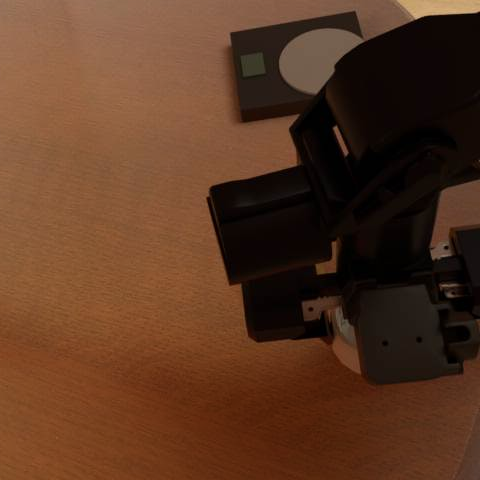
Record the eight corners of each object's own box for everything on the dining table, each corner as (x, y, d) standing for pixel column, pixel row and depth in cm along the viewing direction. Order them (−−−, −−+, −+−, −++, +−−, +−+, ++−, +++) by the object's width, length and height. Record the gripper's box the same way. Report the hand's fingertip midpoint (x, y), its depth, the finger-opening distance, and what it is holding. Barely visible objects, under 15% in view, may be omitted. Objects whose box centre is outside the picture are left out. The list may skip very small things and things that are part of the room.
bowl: (404, 300, 61) (409, 273, 57) (423, 374, 57) (429, 349, 54) (325, 310, 62) (324, 283, 58) (338, 383, 58) (338, 359, 54)
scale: (357, 23, 84) (358, 6, 82) (379, 101, 78) (380, 85, 76) (231, 45, 86) (229, 29, 84) (242, 122, 80) (239, 107, 78)
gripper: (245, 361, 42) (265, 447, 55) (594, 322, 40) (529, 422, 53) (228, 203, 49) (249, 313, 61) (529, 161, 46) (485, 285, 59)
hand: (372, 334), depth 58 cm, fingers closed on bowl, 6 cm apart
